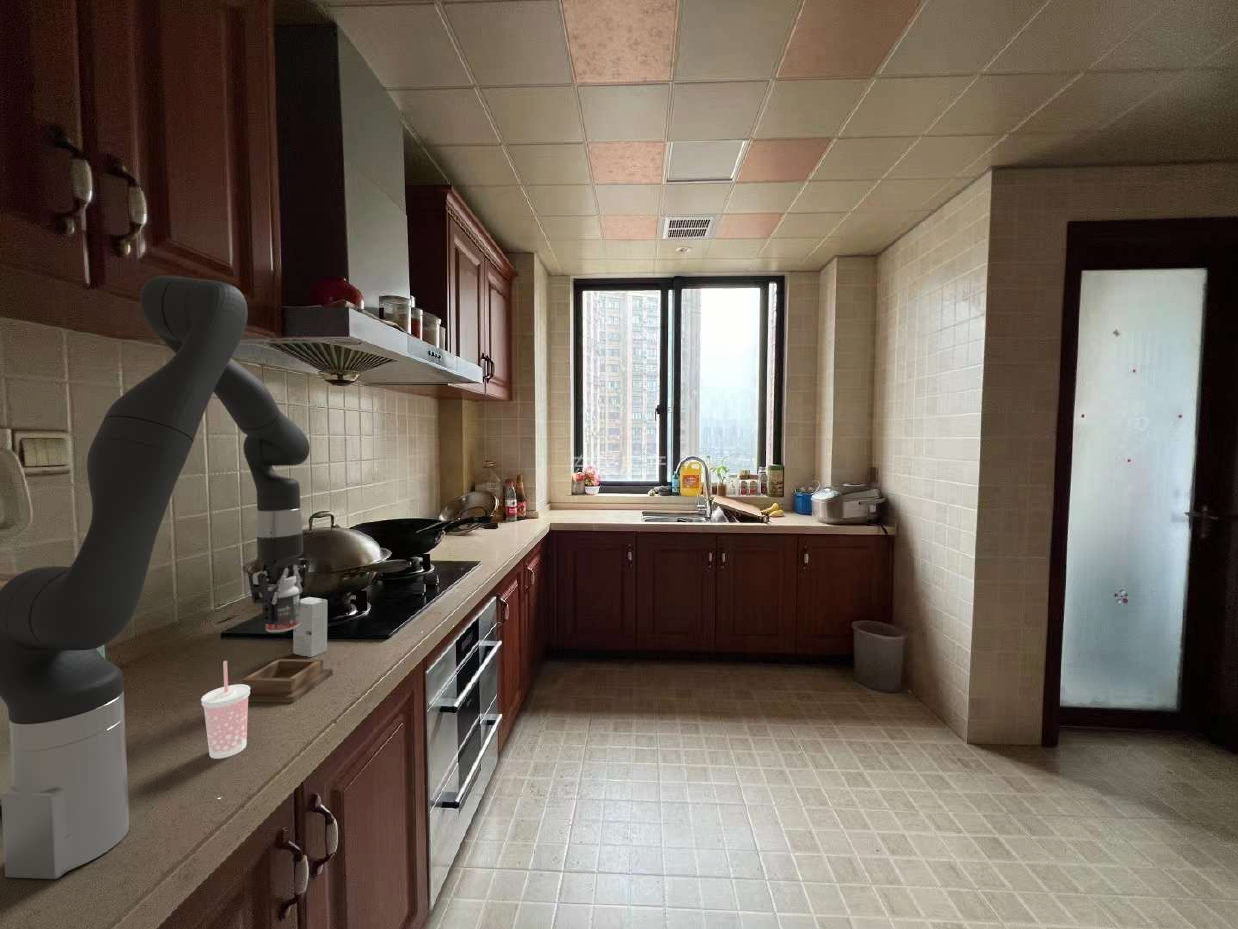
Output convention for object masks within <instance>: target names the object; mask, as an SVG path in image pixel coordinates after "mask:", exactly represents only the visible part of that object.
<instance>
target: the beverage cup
mask: <svg viewBox="0 0 1238 929" xmlns="http://www.w3.org/2000/svg"><path fill="white" fill-rule="evenodd" d="M222 668H223V686H222V687H219V688H218V687H217V688H216V689H213V690H211V691H208V692H207V693H205V694H204V695H202V697H201V699H200V701H201V706H202V707H203V709H204V718H205V719H204V721H205V727H206V735H207V736H206V737H207V744H208V754H209V757H210V758H211V759H223V758H228V757H231V756H234V755H236V754H238V753H240V752H243V750H244V749H246V747H247V736H248V714H249V713H248V711H249V702H248V696H249V694H250V687H249V686H248V685H244V684H242V683H241V684H232V685H229V677H228V660H224V661H223V666H222Z"/></svg>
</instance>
